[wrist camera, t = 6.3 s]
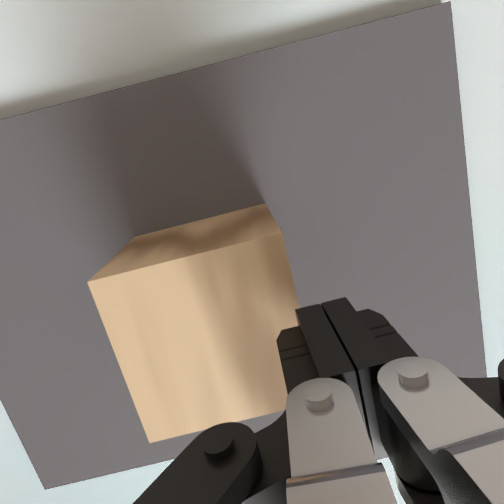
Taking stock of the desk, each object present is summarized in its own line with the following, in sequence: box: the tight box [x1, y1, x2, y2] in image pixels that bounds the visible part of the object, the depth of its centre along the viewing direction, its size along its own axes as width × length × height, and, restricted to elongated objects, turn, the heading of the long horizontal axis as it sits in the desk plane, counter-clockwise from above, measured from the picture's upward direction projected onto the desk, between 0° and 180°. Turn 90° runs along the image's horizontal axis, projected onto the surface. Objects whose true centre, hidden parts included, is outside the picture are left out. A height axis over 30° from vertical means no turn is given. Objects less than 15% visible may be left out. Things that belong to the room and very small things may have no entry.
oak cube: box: [87, 203, 300, 443], centre depth 15 cm, size 6×6×6 cm
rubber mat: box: [0, 1, 487, 490], centre depth 19 cm, size 24×18×1 cm
